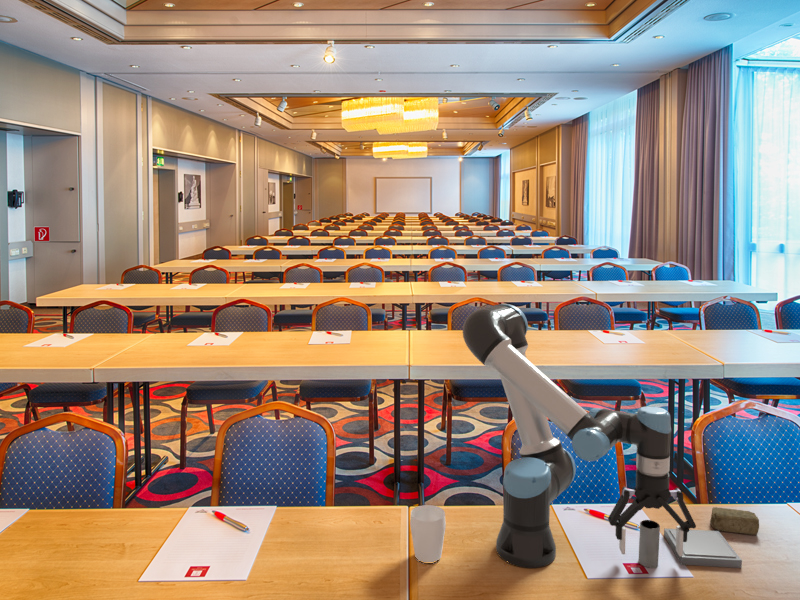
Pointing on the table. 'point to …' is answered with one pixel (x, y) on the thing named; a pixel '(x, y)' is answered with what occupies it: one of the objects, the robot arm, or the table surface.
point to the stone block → (734, 521)
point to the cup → (428, 532)
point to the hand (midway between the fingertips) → (650, 552)
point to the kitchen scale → (704, 549)
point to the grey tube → (649, 543)
